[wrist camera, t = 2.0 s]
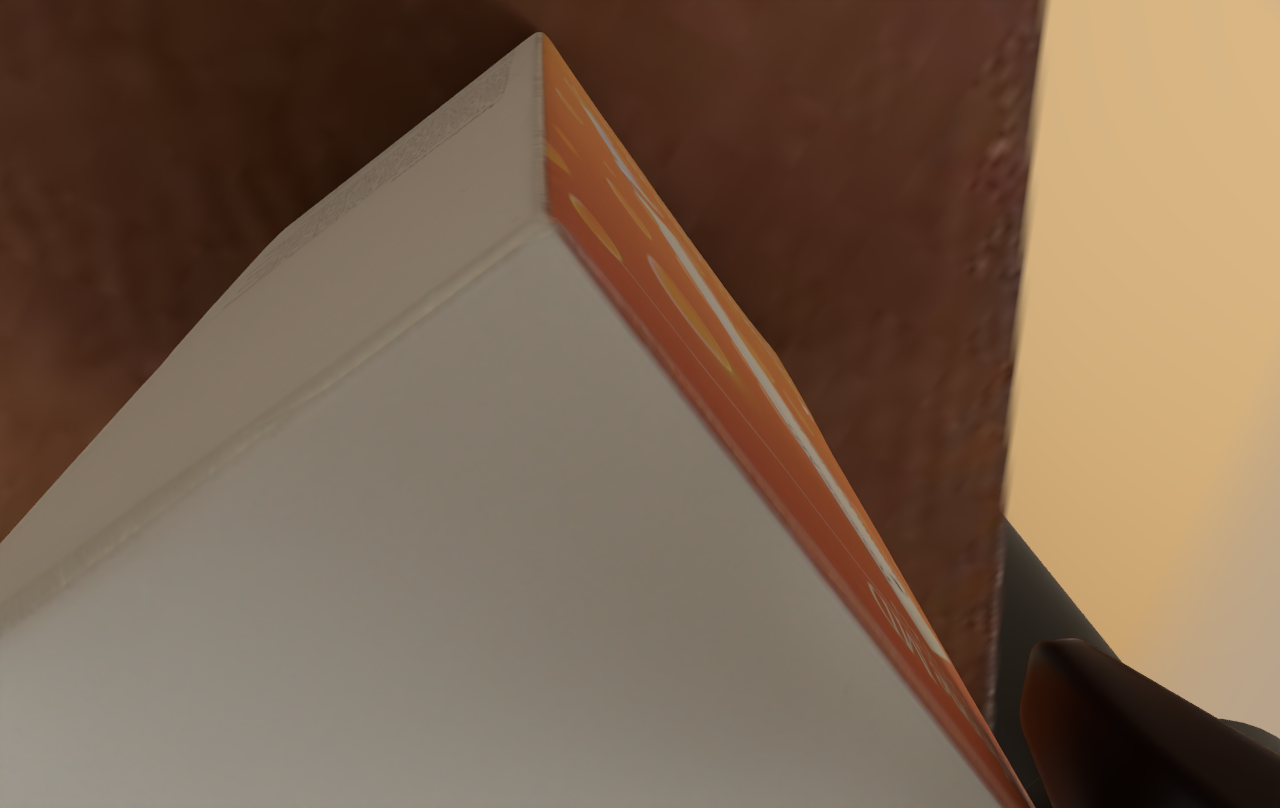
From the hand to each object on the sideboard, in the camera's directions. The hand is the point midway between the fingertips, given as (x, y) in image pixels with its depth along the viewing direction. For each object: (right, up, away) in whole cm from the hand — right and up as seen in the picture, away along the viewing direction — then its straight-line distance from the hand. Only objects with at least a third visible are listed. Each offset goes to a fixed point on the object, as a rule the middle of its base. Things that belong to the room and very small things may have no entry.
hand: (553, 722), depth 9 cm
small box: (-1, +5, +10) cm, 12 cm away
